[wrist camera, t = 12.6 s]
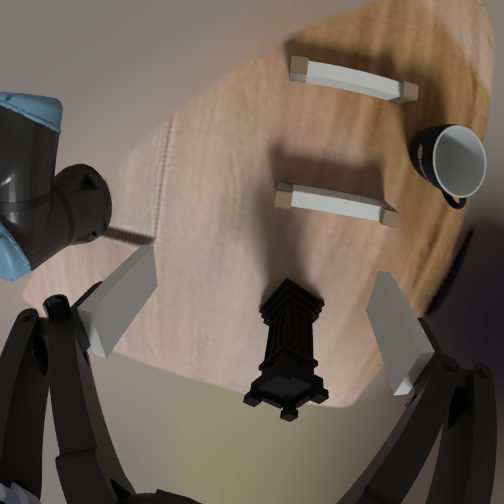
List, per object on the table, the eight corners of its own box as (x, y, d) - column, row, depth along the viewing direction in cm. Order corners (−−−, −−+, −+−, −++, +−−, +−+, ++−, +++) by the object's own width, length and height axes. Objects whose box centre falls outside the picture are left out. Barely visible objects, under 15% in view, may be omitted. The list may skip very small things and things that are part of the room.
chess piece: (324, 302, 45) (333, 397, 27) (295, 330, 49) (290, 423, 30) (286, 277, 44) (278, 371, 26) (259, 309, 48) (238, 402, 30)
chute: (277, 195, 39) (274, 206, 33) (292, 68, 31) (291, 55, 25) (381, 213, 38) (395, 227, 32) (400, 91, 30) (418, 85, 24)
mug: (392, 134, 33) (422, 135, 23) (438, 117, 30) (475, 117, 21) (417, 208, 36) (448, 230, 27) (459, 189, 33) (495, 206, 24)
